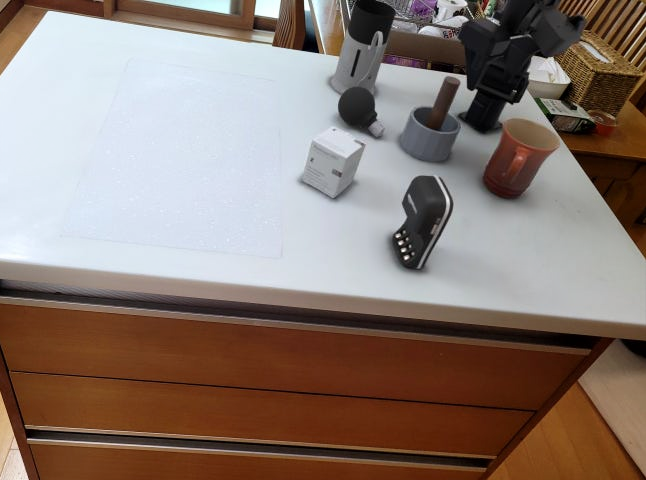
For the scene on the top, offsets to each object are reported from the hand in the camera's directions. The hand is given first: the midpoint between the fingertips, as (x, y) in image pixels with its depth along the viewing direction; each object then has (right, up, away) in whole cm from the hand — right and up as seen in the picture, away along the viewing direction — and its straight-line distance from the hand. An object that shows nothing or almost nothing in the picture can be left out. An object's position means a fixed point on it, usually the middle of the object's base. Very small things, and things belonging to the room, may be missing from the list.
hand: (488, 85), depth 86 cm
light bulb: (-19, -3, +11) cm, 22 cm away
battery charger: (-16, -27, -11) cm, 33 cm away
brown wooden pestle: (-7, -7, +9) cm, 14 cm away
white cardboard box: (-26, -16, -2) cm, 30 cm away
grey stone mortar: (-8, -7, +9) cm, 14 cm away
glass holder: (-18, +5, +19) cm, 27 cm away
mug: (+3, -16, +4) cm, 17 cm away
